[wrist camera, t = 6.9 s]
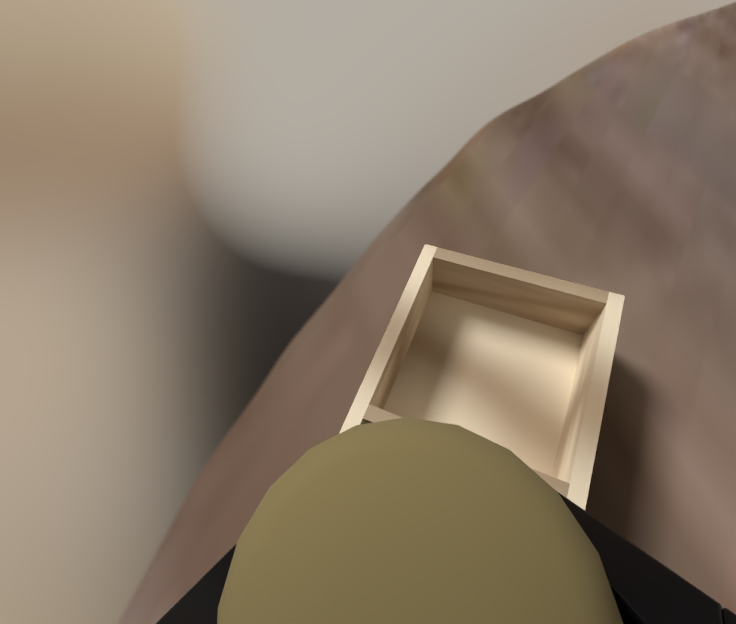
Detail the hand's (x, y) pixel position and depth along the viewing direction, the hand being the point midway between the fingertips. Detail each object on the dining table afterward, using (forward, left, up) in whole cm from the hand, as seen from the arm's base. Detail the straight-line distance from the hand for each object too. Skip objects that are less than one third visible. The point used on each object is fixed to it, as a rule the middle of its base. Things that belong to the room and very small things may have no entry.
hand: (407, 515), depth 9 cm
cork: (-1, -1, -7) cm, 7 cm away
